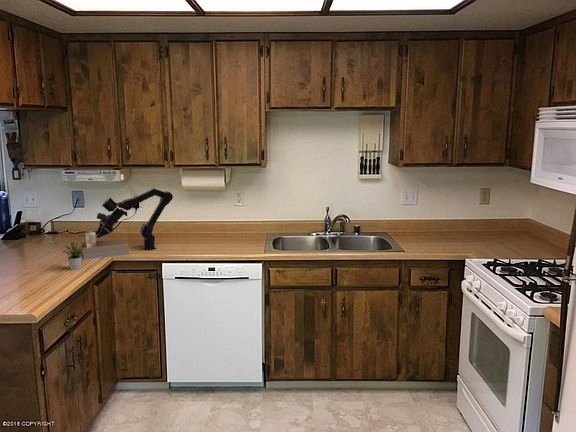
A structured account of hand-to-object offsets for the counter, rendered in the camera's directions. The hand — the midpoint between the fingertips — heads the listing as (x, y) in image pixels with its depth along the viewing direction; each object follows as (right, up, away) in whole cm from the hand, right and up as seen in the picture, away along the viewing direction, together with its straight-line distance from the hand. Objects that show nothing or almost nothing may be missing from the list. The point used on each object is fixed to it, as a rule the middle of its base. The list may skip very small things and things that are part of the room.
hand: (96, 236), depth 292 cm
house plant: (-1, -16, -28) cm, 32 cm away
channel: (+4, -10, +4) cm, 12 cm away
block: (-3, -8, 0) cm, 9 cm away
